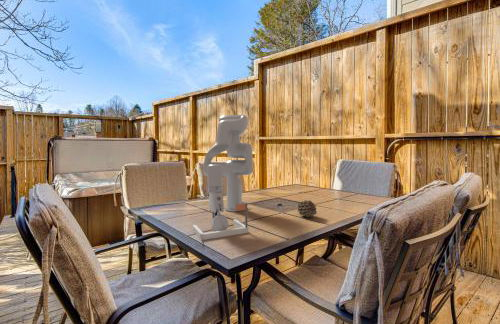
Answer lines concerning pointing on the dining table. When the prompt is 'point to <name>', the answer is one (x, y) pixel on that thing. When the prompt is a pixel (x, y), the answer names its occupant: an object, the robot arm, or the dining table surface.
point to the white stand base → (229, 232)
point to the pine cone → (306, 208)
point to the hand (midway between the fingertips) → (216, 224)
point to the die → (219, 223)
